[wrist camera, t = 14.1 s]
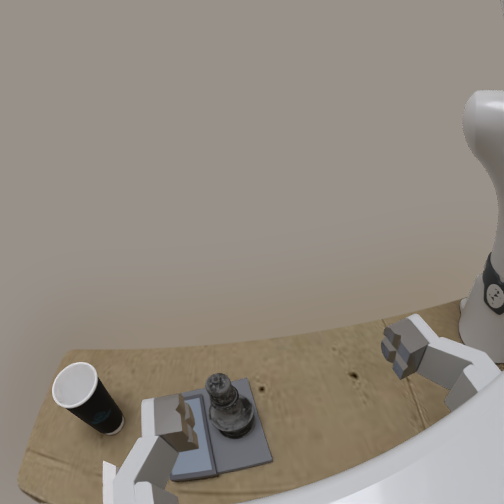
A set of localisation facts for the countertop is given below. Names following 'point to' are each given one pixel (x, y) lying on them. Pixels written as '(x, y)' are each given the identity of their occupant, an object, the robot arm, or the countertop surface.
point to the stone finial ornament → (229, 408)
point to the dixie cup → (87, 398)
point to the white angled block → (108, 481)
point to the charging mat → (236, 450)
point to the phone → (197, 460)
